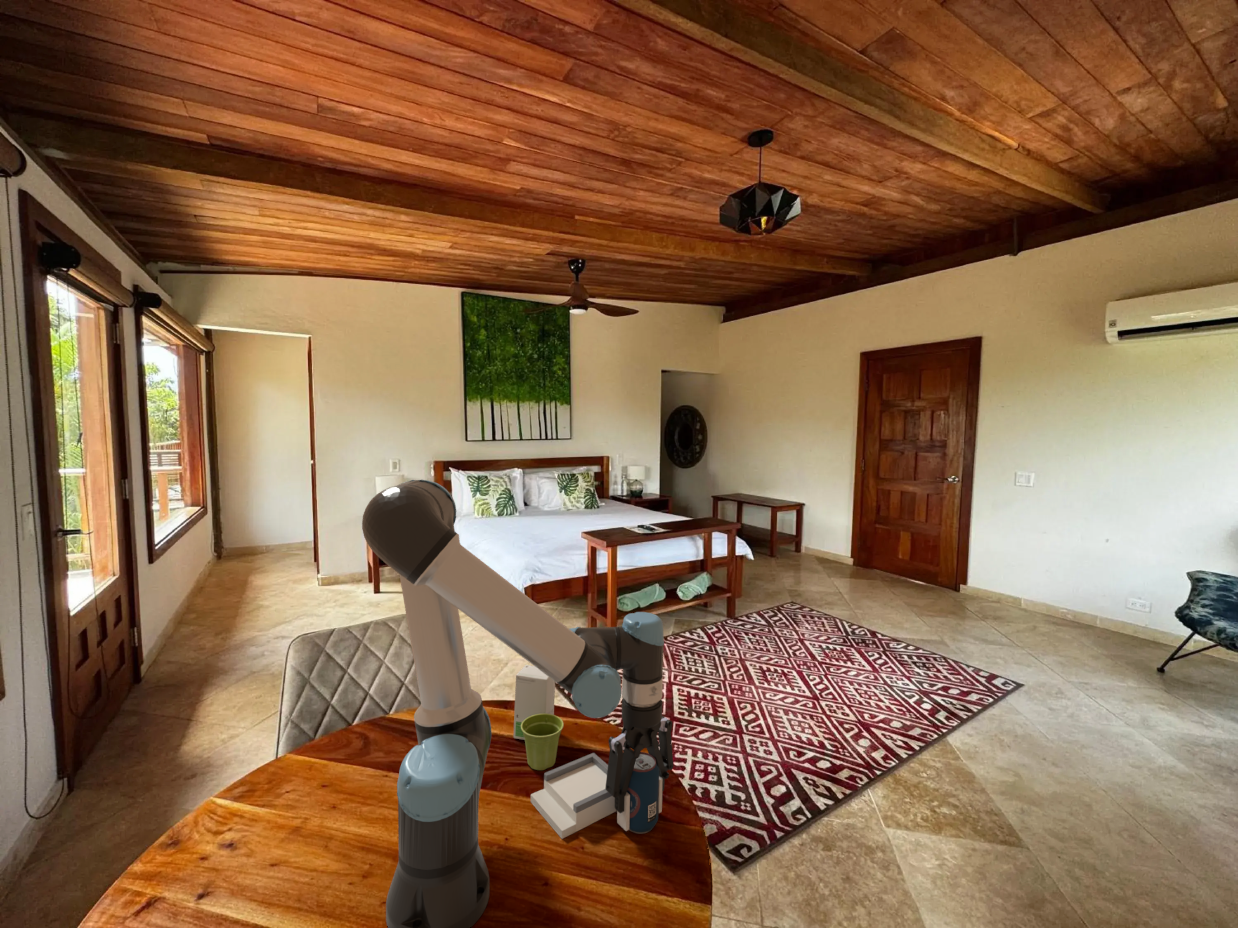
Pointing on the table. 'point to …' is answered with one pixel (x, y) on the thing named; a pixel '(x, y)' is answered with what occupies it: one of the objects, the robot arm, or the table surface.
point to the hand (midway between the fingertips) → (639, 816)
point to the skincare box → (532, 696)
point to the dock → (575, 795)
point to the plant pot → (541, 739)
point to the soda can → (644, 794)
